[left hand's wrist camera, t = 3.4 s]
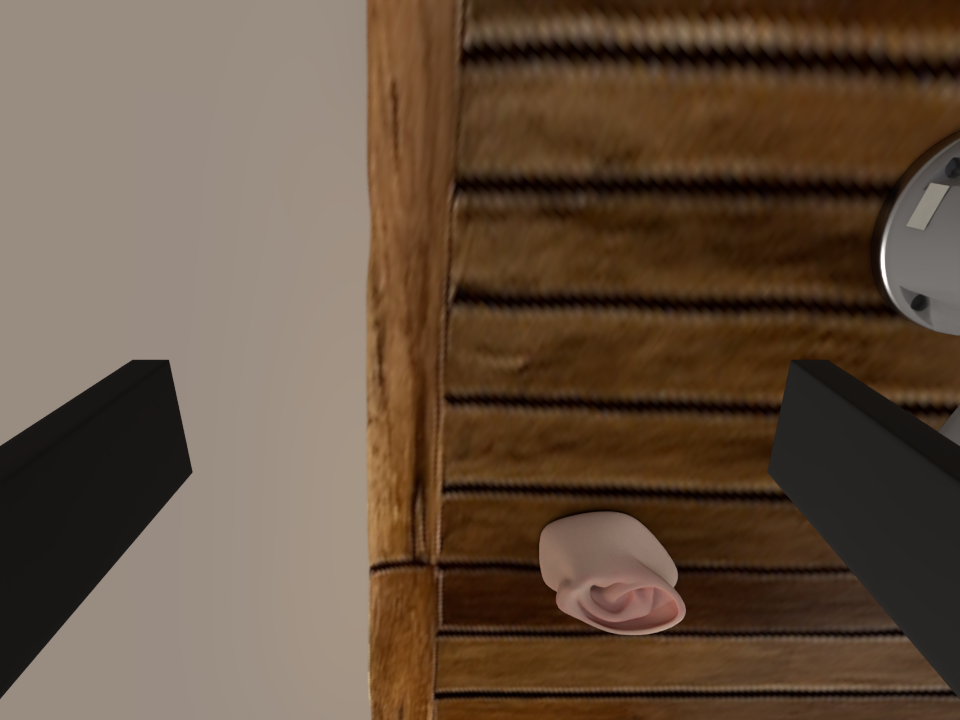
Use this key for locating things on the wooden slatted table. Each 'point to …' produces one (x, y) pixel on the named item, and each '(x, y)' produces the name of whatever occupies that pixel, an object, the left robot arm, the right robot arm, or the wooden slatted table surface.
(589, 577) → the anatomical model
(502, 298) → the wooden slatted table surface
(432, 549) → the wooden slatted table surface
